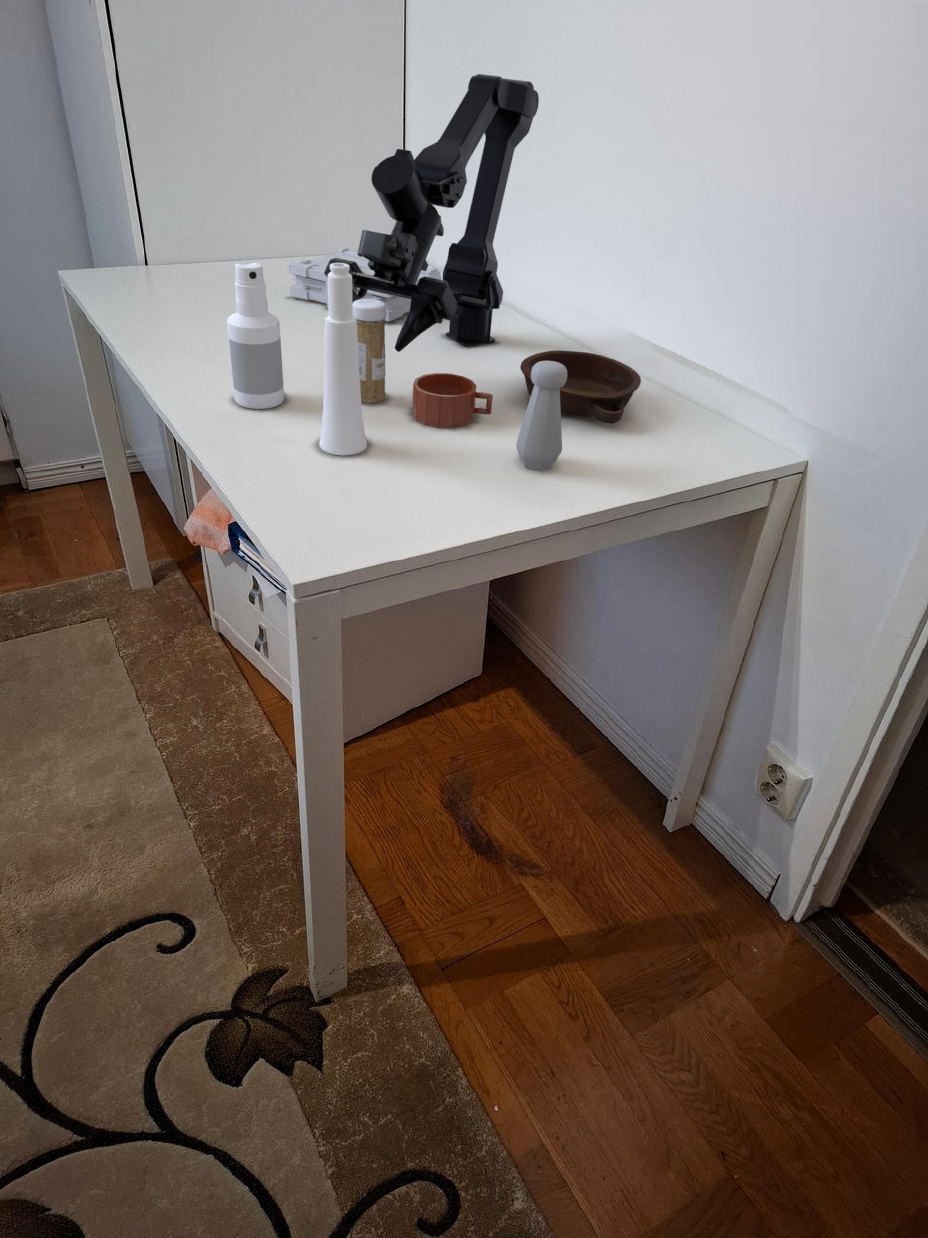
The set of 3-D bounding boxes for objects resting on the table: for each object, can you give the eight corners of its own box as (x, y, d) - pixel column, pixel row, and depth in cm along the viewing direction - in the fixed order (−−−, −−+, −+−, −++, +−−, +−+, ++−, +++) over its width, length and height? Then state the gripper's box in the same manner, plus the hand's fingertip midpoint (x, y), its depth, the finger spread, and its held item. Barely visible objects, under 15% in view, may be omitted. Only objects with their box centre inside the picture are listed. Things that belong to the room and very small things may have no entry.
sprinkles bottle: (388, 403, 118) (388, 306, 110) (356, 404, 117) (354, 307, 109) (383, 391, 121) (383, 297, 113) (352, 392, 120) (350, 297, 112)
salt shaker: (511, 452, 107) (523, 354, 100) (554, 454, 108) (569, 356, 100) (517, 473, 103) (530, 371, 95) (562, 474, 103) (578, 373, 96)
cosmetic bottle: (371, 454, 104) (371, 271, 91) (323, 457, 103) (316, 272, 89) (362, 434, 109) (361, 257, 96) (316, 437, 107) (308, 257, 94)
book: (329, 274, 170) (328, 234, 165) (444, 303, 159) (446, 261, 155) (266, 293, 156) (263, 250, 152) (387, 326, 146) (387, 280, 141)
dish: (555, 438, 112) (560, 403, 109) (493, 379, 128) (496, 347, 125) (664, 427, 118) (672, 394, 115) (592, 372, 134) (597, 341, 131)
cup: (407, 424, 112) (408, 392, 110) (418, 400, 119) (419, 369, 117) (487, 433, 112) (490, 401, 109) (493, 408, 119) (496, 378, 116)
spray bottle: (241, 412, 112) (228, 273, 101) (228, 393, 116) (215, 259, 106) (290, 406, 114) (283, 270, 104) (276, 388, 119) (267, 256, 108)
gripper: (329, 193, 110) (284, 296, 109) (452, 215, 104) (407, 325, 103) (361, 245, 121) (321, 340, 119) (475, 268, 115) (434, 368, 113)
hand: (368, 343), depth 114 cm, fingers open, 9 cm apart
